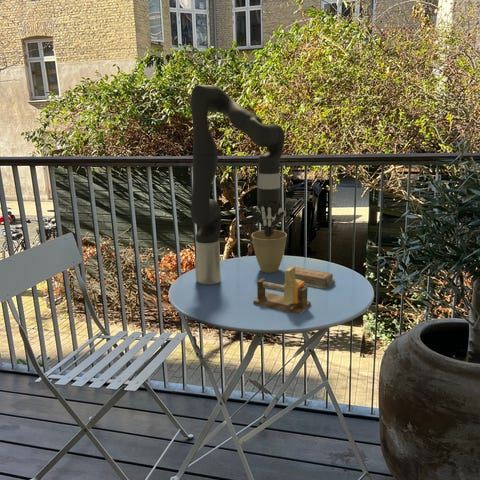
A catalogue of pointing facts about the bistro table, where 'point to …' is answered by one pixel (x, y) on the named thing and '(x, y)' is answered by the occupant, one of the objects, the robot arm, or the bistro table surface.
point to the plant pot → (269, 249)
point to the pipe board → (280, 298)
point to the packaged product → (314, 278)
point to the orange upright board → (296, 287)
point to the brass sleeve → (290, 284)
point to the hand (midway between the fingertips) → (268, 236)
